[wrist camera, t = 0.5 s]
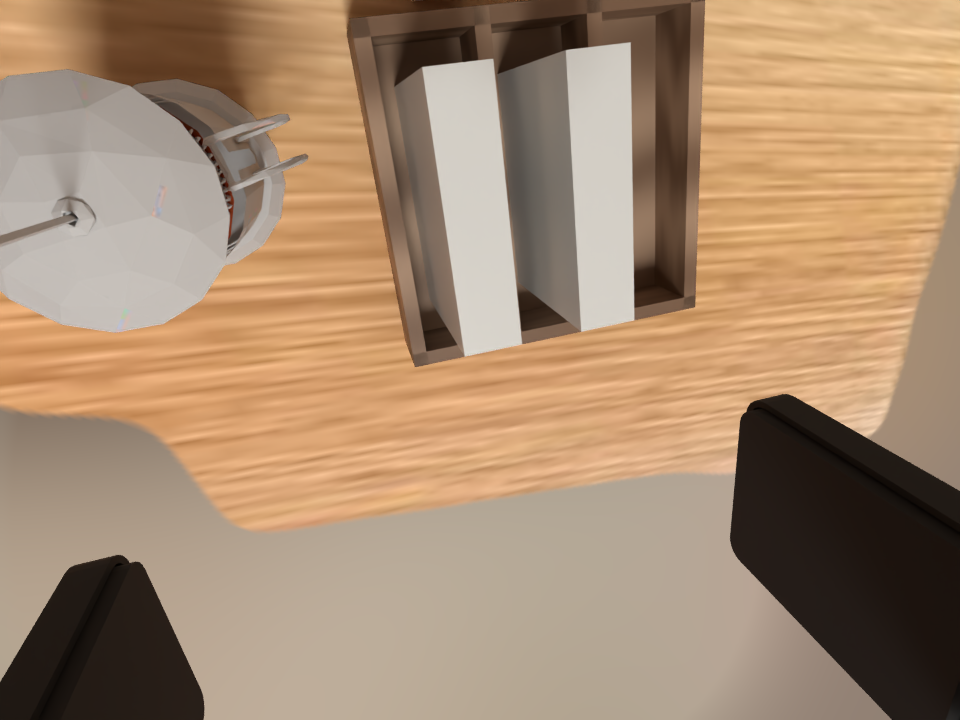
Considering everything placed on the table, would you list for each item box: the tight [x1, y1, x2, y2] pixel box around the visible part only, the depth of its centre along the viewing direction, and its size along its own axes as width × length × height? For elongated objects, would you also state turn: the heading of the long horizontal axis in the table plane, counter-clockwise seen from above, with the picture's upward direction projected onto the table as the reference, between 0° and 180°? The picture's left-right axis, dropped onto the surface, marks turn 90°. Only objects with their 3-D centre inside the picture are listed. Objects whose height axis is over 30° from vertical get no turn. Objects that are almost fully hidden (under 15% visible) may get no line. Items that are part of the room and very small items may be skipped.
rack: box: [347, 0, 705, 367], centre depth 33 cm, size 18×18×4 cm
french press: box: [0, 69, 308, 333], centre depth 19 cm, size 10×12×25 cm
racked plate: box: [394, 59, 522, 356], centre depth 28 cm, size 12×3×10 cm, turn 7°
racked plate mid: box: [497, 42, 634, 332], centre depth 29 cm, size 12×3×10 cm, turn 7°
